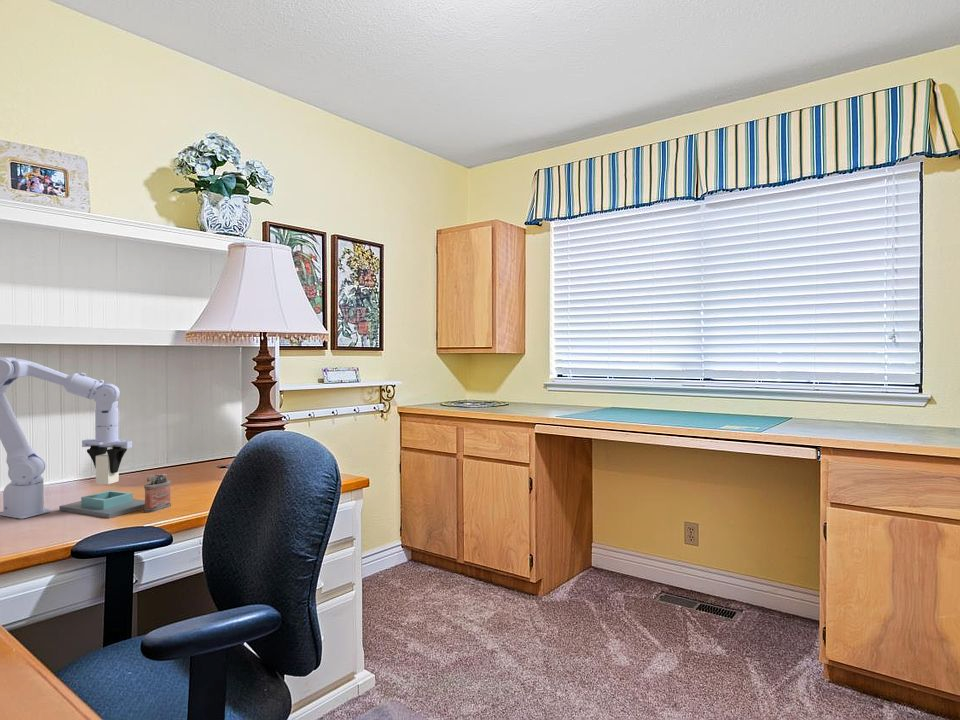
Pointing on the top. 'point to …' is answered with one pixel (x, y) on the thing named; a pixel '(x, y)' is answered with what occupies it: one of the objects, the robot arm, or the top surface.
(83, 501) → the organizer
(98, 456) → the cream block
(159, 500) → the lighter
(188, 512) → the top surface
